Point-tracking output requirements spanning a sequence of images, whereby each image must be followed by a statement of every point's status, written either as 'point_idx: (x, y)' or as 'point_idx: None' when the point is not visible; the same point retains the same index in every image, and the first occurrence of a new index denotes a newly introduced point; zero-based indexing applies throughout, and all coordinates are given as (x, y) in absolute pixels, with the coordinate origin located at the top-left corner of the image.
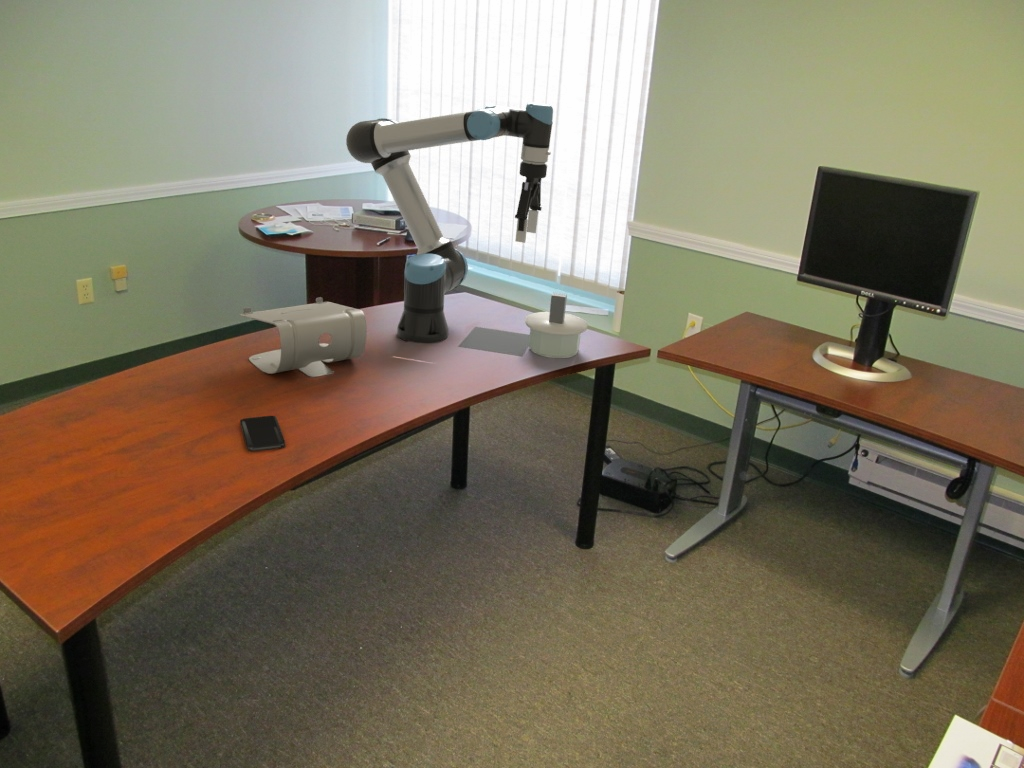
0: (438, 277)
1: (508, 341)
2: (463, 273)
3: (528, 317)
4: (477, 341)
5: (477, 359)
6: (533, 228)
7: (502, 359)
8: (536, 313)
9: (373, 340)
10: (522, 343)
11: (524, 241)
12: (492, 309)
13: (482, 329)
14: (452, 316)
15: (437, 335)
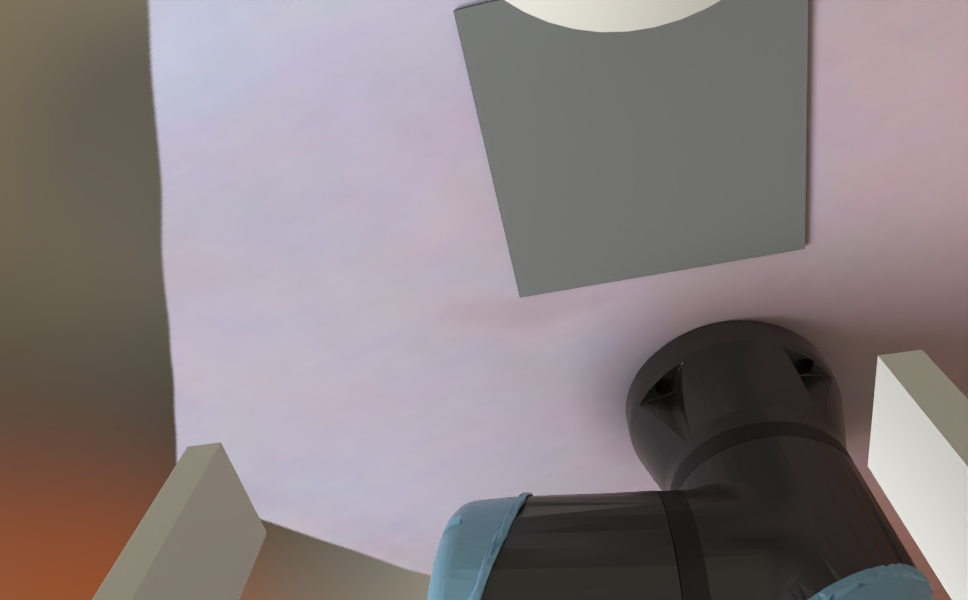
0: (892, 573)
1: (624, 90)
2: (523, 533)
3: (655, 10)
4: (701, 209)
5: (922, 109)
6: (208, 516)
7: (875, 5)
8: (540, 2)
9: None
10: None
11: (934, 365)
12: (248, 338)
13: (536, 259)
14: (449, 414)
15: (799, 349)
